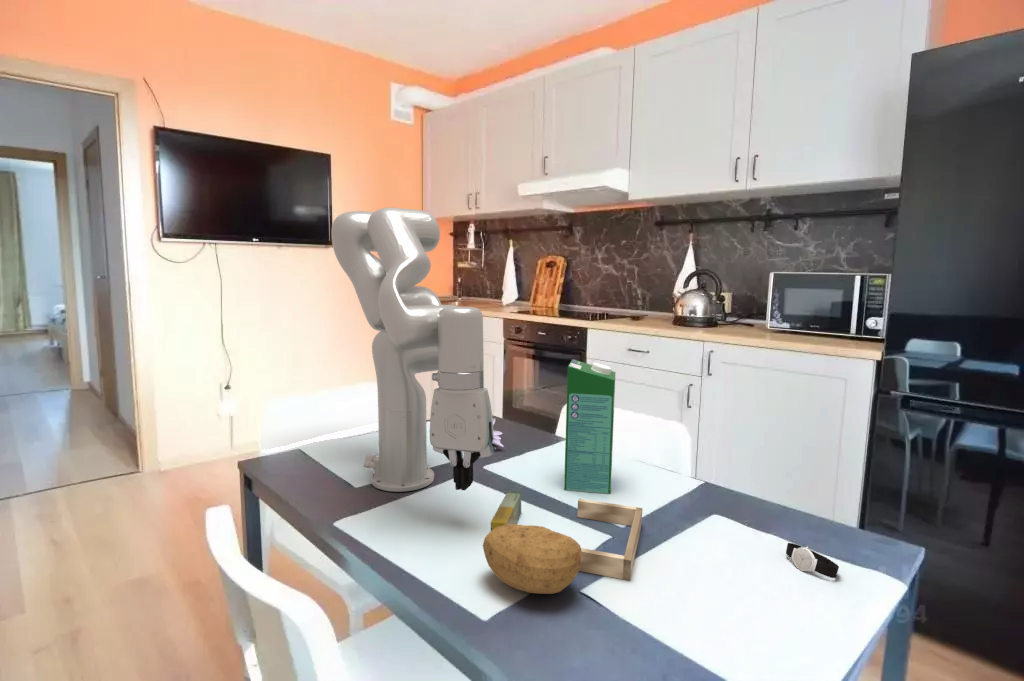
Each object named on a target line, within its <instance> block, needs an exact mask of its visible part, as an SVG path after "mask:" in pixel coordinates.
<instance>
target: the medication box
mask: <svg viewBox="0 0 1024 681" xmlns="http://www.w3.org/2000/svg"><path fill="white" fill-rule="evenodd" d="M521 495H522V493H521V492H516V491H513V492H512V491H510V492H509V491H507V492H506V494H505V496H504V498H503V499H502V501H501V502H500V504H499V506H498V508H497V510H496V511H495V513H494V515H493V517H492V519H491V521H490V532H491V531H492V530H493V529H494V528H495V527H498V526H502V525H506V524H517V525H518V522H519V521H520V518H521V516H522V496H521ZM520 515H521V516H520ZM519 517H520V518H519Z"/></svg>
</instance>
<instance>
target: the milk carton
mask: <svg viewBox="0 0 1024 681" xmlns="http://www.w3.org/2000/svg"><path fill="white" fill-rule="evenodd" d="M612 369H613V368H612V367H610V366H608V365H606V364H601V363H599V362H593V363H592V364H590V363H586V362H583V361H579V360H577V359H571V361H570V363H569V364H568V366H567V375H566V376H567V381H566V410H565V411H566V412H565V413H566V416H565V449H564V452H565V453H564V487H563V489H565V490H566V491H575V492H584V491H585V493H597V494H607V495H611V491H612V490H611V489H612V474H613V473H612V472H613V471H612V470H613V468H612V466H613V443H614V419H615V394H616V371H614V370H612ZM565 490H564V491H565Z"/></svg>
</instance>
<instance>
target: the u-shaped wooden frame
mask: <svg viewBox="0 0 1024 681" xmlns="http://www.w3.org/2000/svg"><path fill="white" fill-rule="evenodd" d="M576 517H577V518H582V519H587V520H593V521H600V522H605V523H612V524H618V525H625V526H631V528H630V532H629V536H628V540H627V544H626V548H625V553H624V555H622V554H617V553H611V552H606V551H601V550H600V551H599V550H594V549H590V548H583V547H581V550H582V556H581V561H580V570H579V572H583V573H588V574H594V575H599V576H604V577H609V578H614V579H620V580H625V581H629V582H630V581H631V577H632V572H633V567H634V563H635V559H636V553H637V549H638V544H639V540H640V534H641V531H642V524H643V507H639V506H638V507H637V506H631V505H624V504H617V503H610V502H603V501H597V500H590V499H586V498H585V499H584V498H578V500H577V515H576Z"/></svg>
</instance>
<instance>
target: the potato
mask: <svg viewBox="0 0 1024 681" xmlns="http://www.w3.org/2000/svg"><path fill="white" fill-rule="evenodd" d="M482 548H483V553H484V557H485V559H486V562H487V565H488V567H489V568H490V570H491V571H492V572H493V574H494V575H495V576H496V577H497V578H498V579H499V580H500V581H501V582H502V583H504V584H506V585H508V586H509V587H511V588H514V589H515V590H518V591H521V592H525V593H530V594H540V595H541V594H543V595H545V594H546V595H549V594H550V595H552V594H556V593H561V592H562V591H563V590H564V589H566V588H567V587H568V586H569V585H570V584H571V583H572V582H573V581H574V579H575V578H576V577H577V575H578V574H579V572H580V571H579V570H580V561H581V556H582V550H581V548H582V547H581V545H580V543H578V542H577V541H576V540H575V539H574V538H573V537H571V536H569V535H565V534H563V533H560V532H556V531H555V530H551V529H549V528H547V527H545V526H540V525H530V524H529V525H524V524H518V523H517V524H506V525H502V526H498V527H495V528H494V529H493V530H492V531H491V530H490V531H489V533H488V534H487V535H486V536H485V537H484V540H483V543H482Z"/></svg>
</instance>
